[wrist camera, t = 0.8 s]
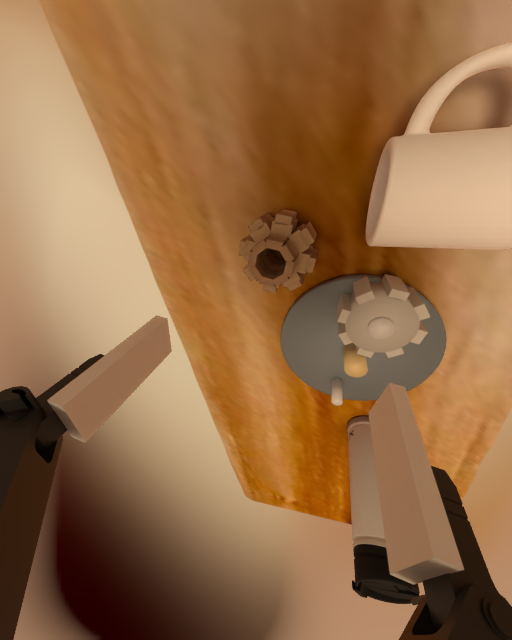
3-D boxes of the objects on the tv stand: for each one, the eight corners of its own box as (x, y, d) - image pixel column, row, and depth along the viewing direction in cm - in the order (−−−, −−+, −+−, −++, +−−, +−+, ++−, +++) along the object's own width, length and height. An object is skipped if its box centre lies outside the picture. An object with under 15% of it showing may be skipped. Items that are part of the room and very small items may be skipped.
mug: (472, 238, 22) (529, 263, 15) (362, 235, 25) (371, 256, 18) (554, 57, 16) (708, -27, 9) (393, 80, 18) (424, 28, 12)
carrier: (303, 250, 27) (295, 267, 22) (487, 294, 24) (527, 324, 19) (271, 368, 39) (262, 396, 34) (392, 408, 36) (401, 445, 31)
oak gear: (255, 203, 26) (234, 209, 21) (328, 218, 24) (326, 229, 19) (246, 271, 31) (228, 290, 25) (307, 287, 29) (300, 311, 24)
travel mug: (339, 418, 40) (341, 580, 24) (377, 412, 37) (410, 595, 21) (355, 440, 42) (366, 604, 26) (393, 436, 39) (434, 621, 23)
